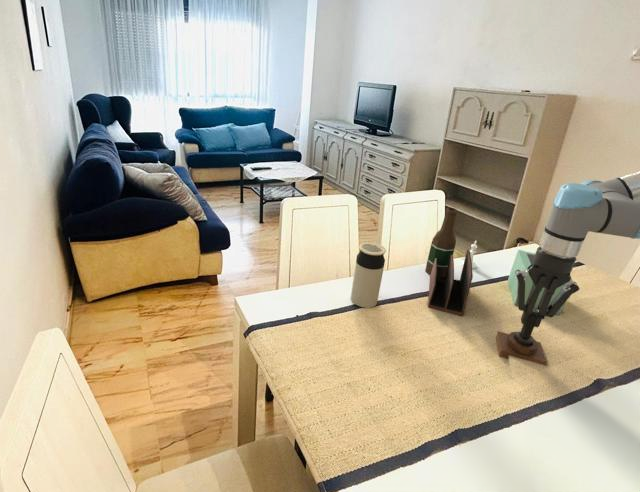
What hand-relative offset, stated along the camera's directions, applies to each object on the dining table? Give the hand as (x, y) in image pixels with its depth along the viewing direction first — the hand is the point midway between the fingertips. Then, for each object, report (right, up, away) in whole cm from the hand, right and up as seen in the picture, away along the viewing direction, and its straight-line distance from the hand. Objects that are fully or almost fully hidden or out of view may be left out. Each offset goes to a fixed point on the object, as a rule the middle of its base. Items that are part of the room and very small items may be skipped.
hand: (525, 334), depth 96 cm
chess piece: (+8, +13, +45) cm, 47 cm away
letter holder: (-9, +5, +25) cm, 27 cm away
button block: (0, -5, +2) cm, 6 cm away
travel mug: (-36, +4, +20) cm, 42 cm away
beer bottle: (-7, +11, +38) cm, 40 cm away
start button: (0, -2, +1) cm, 2 cm away
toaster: (+19, +4, +27) cm, 33 cm away
